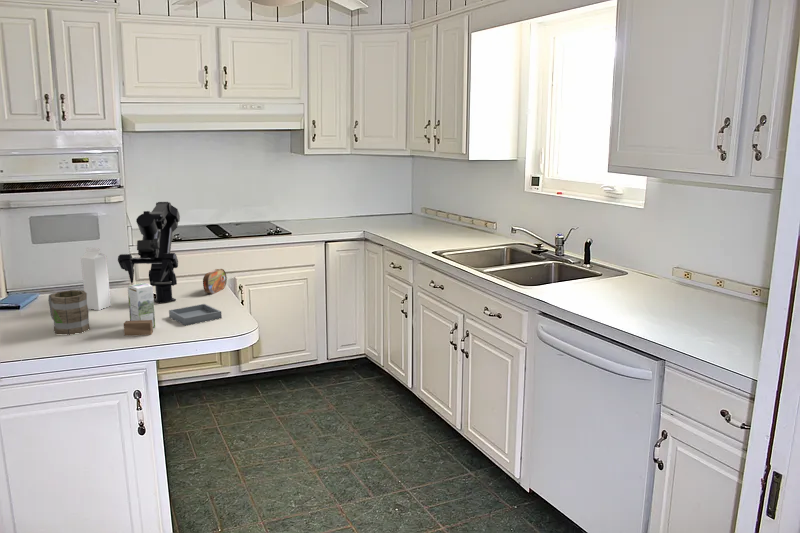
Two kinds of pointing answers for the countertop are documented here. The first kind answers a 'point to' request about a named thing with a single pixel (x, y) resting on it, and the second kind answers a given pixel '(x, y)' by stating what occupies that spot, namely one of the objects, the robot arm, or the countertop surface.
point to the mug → (69, 311)
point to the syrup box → (141, 302)
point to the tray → (194, 314)
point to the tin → (214, 281)
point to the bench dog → (138, 327)
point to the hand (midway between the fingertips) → (145, 282)
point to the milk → (95, 279)
